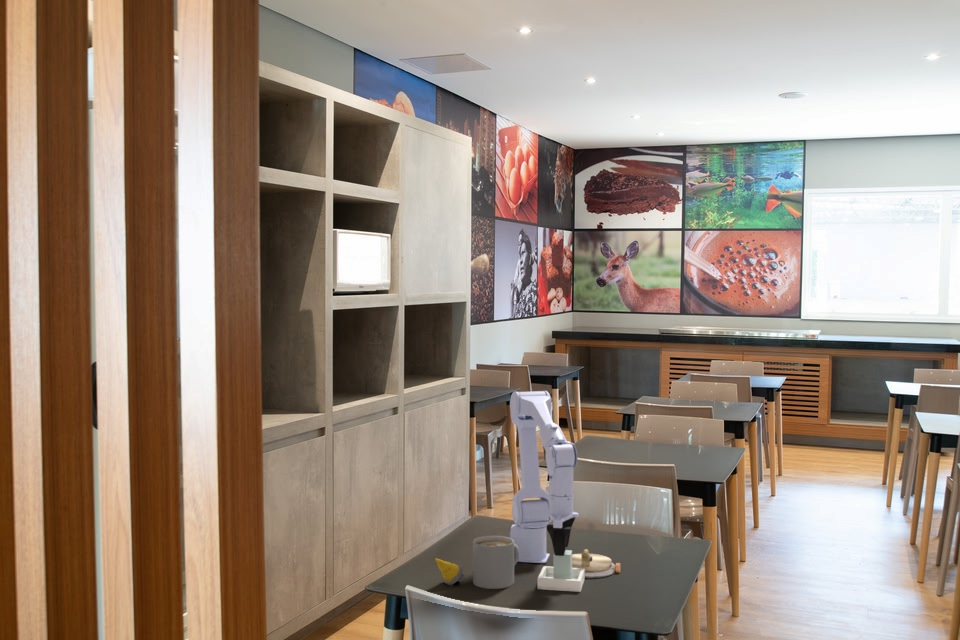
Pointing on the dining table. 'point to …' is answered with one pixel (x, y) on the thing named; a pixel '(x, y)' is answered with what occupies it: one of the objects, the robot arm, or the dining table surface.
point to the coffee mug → (494, 561)
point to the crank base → (604, 572)
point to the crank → (591, 562)
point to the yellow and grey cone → (450, 571)
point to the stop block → (563, 565)
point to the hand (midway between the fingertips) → (561, 550)
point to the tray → (561, 580)
